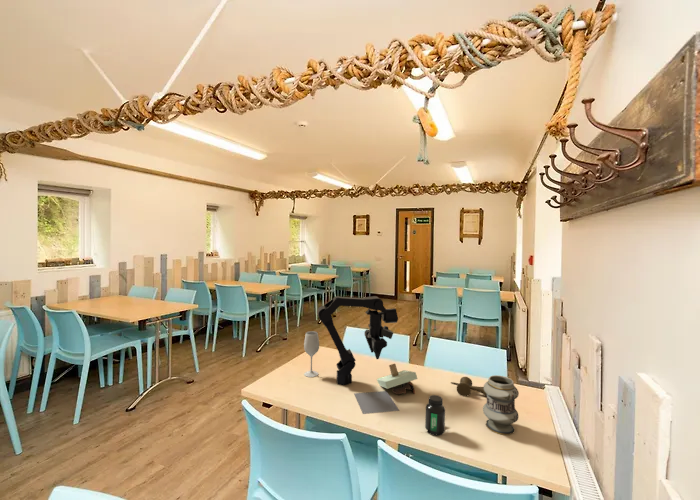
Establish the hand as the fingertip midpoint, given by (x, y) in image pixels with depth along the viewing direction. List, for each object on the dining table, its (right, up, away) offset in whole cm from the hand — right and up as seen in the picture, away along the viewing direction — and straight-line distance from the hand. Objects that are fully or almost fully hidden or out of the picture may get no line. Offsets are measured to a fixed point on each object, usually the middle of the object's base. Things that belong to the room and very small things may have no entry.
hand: (374, 355), depth 158 cm
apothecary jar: (+44, -16, -35) cm, 58 cm away
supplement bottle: (+19, -15, -38) cm, 45 cm away
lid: (+10, -9, -8) cm, 16 cm away
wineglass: (-31, -12, +9) cm, 35 cm away
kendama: (+44, -15, -9) cm, 47 cm away
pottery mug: (+12, -14, -10) cm, 21 cm away
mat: (-1, -14, -20) cm, 24 cm away
